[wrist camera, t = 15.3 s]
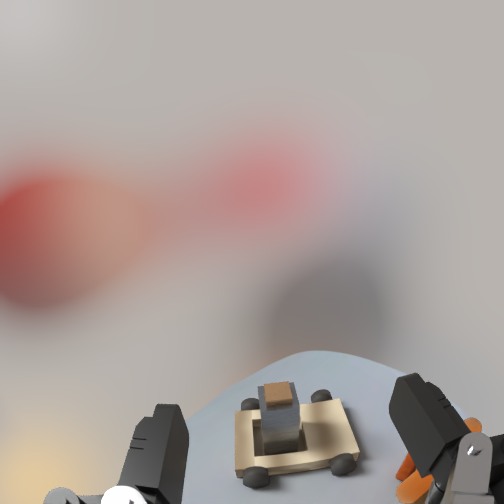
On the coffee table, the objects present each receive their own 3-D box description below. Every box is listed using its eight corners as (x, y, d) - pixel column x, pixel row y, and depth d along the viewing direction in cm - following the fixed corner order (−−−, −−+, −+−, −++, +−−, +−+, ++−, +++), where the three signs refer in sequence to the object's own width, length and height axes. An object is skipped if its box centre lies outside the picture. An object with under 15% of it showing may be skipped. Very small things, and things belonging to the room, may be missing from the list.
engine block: (292, 428, 37) (293, 376, 33) (297, 451, 32) (300, 401, 29) (262, 432, 36) (257, 380, 33) (264, 455, 32) (259, 406, 29)
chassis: (334, 400, 42) (336, 386, 41) (360, 470, 28) (365, 459, 27) (236, 412, 42) (234, 399, 41) (237, 488, 27) (234, 478, 26)
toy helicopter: (455, 465, 23) (498, 398, 19) (388, 592, 8) (445, 575, 5) (407, 452, 28) (438, 385, 24) (325, 572, 14) (350, 552, 10)
